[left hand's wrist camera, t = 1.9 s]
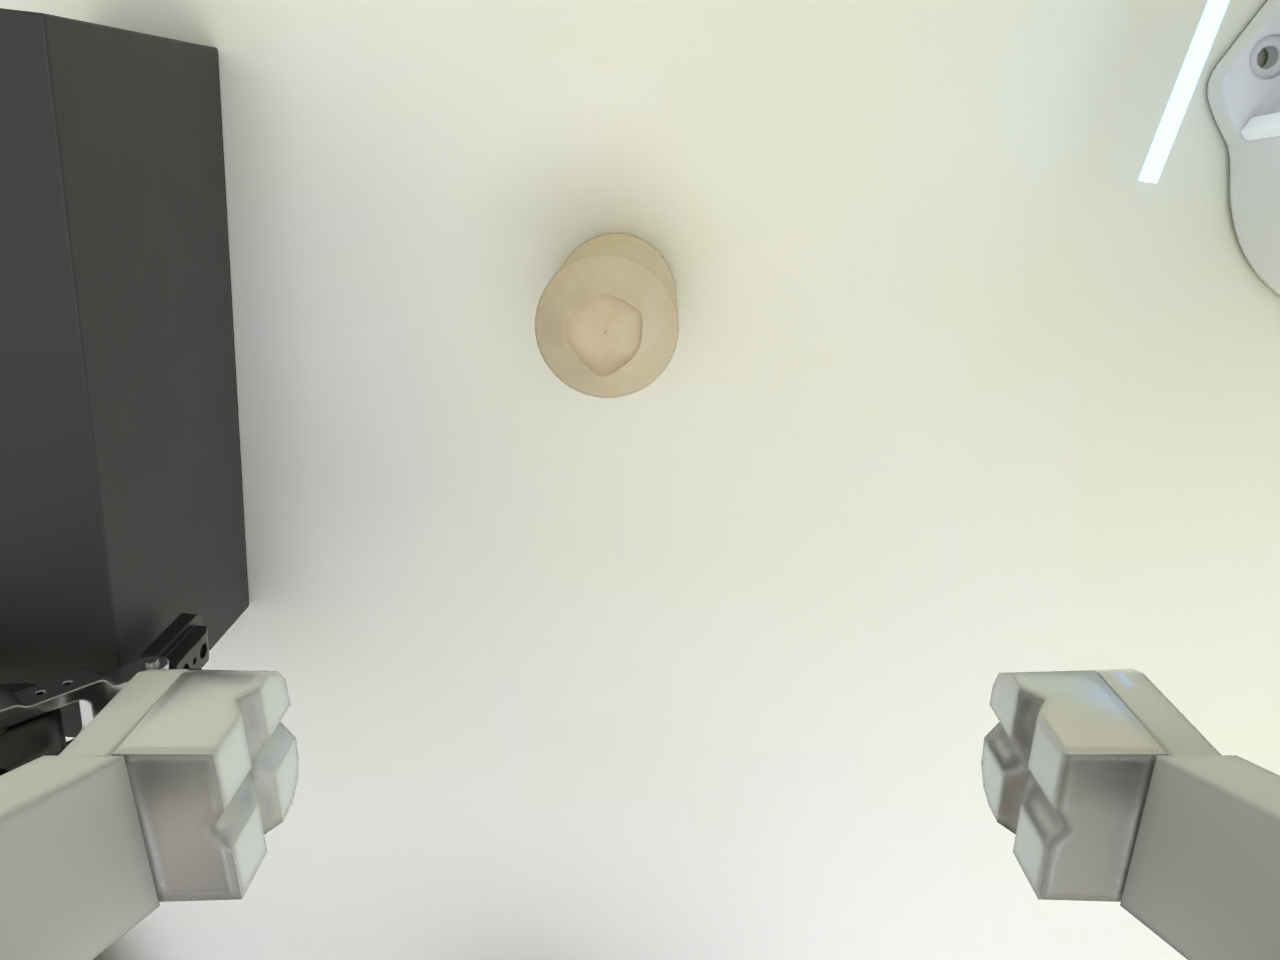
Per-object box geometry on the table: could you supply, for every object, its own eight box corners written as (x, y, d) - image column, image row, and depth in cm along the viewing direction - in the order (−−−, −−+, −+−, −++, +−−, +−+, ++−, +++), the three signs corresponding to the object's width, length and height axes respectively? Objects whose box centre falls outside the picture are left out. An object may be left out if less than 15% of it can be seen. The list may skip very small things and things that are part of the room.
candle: (664, 359, 44) (665, 419, 34) (551, 339, 43) (521, 395, 34) (685, 243, 42) (692, 274, 32) (567, 222, 42) (539, 247, 32)
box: (85, 33, 39) (-143, -8, 28) (218, 48, 39) (43, 12, 28) (143, 595, 49) (-9, 730, 38) (249, 606, 49) (128, 743, 38)
